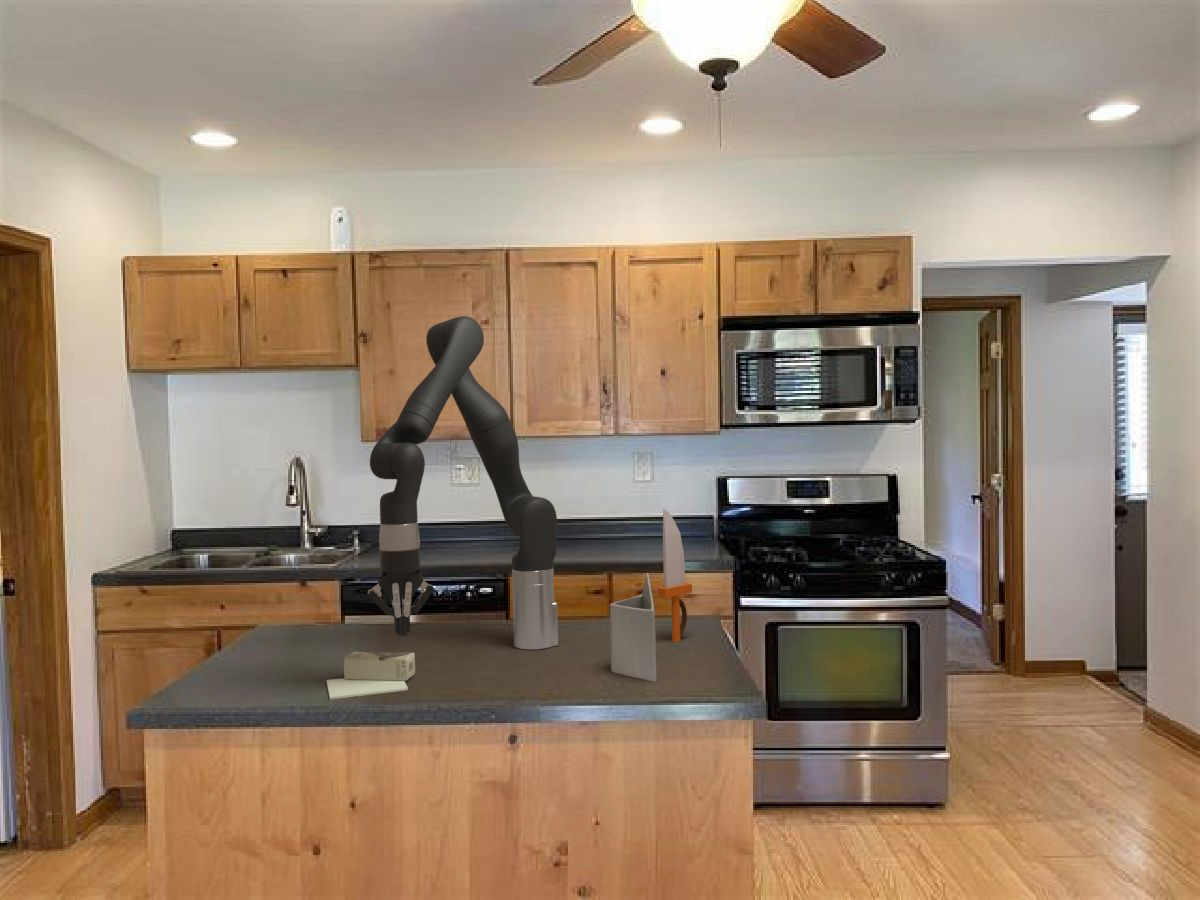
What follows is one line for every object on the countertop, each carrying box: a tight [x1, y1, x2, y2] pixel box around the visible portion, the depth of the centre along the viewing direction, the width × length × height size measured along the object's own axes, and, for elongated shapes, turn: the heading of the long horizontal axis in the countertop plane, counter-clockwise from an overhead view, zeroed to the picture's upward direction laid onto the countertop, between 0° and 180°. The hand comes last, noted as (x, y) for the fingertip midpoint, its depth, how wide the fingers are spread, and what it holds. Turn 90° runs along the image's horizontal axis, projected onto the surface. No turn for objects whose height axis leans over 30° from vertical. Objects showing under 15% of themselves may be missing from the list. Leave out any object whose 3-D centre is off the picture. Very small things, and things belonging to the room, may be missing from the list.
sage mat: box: [326, 678, 409, 701], centre depth 170 cm, size 14×12×1 cm
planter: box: [609, 572, 657, 683], centre depth 176 cm, size 16×8×19 cm, turn 4°
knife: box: [657, 508, 693, 643], centre depth 199 cm, size 8×2×30 cm, turn 129°
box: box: [343, 651, 416, 682], centre depth 175 cm, size 5×4×13 cm
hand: (402, 635), depth 172 cm, fingers closed
